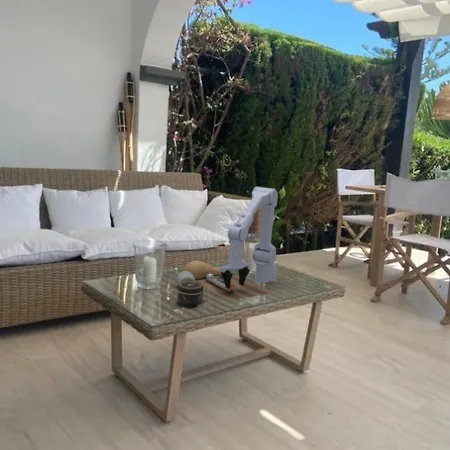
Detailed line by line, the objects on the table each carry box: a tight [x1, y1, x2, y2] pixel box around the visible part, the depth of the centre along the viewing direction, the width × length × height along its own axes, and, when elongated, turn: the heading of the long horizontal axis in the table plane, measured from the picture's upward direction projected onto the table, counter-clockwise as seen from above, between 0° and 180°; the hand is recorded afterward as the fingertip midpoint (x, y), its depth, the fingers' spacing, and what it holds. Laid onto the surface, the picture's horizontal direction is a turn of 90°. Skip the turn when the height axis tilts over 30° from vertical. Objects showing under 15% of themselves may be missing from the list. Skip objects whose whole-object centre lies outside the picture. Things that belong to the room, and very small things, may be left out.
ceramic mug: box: [175, 270, 197, 286], centre depth 208 cm, size 11×8×8 cm
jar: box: [177, 282, 204, 308], centre depth 192 cm, size 10×10×8 cm
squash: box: [183, 260, 222, 280], centre depth 228 cm, size 11×20×9 cm, turn 127°
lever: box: [205, 273, 234, 293], centre depth 211 cm, size 20×5×3 cm, turn 32°
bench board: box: [195, 273, 275, 301], centre depth 213 cm, size 24×28×4 cm
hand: (234, 286), depth 205 cm, fingers open, 7 cm apart
